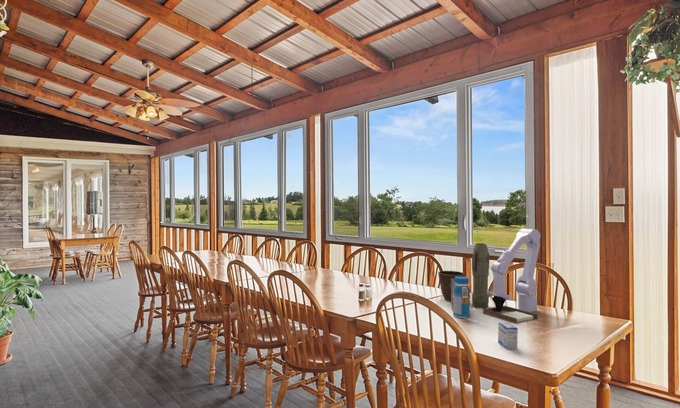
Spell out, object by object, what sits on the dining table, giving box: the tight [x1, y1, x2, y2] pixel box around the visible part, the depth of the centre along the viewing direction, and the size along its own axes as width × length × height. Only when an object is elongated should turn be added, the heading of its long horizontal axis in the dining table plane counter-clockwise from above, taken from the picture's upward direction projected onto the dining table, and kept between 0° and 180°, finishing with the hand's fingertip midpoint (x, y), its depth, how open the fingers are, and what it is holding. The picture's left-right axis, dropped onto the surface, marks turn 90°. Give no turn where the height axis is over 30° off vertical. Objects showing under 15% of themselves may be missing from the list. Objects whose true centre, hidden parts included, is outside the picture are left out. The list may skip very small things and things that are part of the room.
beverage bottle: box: [452, 275, 471, 319], centre depth 213 cm, size 8×8×20 cm
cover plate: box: [503, 311, 533, 323], centre depth 207 cm, size 12×10×2 cm
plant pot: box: [438, 270, 465, 302], centre depth 249 cm, size 15×15×16 cm
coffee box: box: [450, 279, 456, 312], centre depth 226 cm, size 9×6×16 cm
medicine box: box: [497, 321, 519, 350], centre depth 170 cm, size 8×4×9 cm, turn 5°
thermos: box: [471, 242, 490, 310], centre depth 233 cm, size 9×12×35 cm
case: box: [482, 304, 539, 324], centre depth 211 cm, size 16×20×3 cm
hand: (499, 311), depth 217 cm, fingers closed
